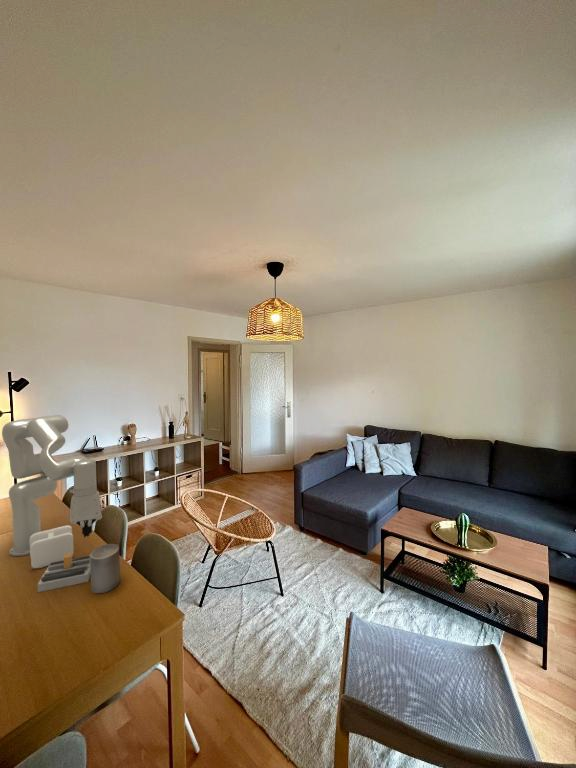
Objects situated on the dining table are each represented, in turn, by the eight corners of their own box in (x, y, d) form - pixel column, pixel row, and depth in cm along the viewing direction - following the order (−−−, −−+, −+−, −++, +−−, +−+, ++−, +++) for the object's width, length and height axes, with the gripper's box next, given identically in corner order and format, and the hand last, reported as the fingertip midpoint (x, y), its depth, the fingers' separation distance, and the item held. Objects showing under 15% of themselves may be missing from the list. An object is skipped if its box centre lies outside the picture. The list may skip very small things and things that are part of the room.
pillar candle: (116, 572, 124) (114, 537, 124) (123, 585, 117) (122, 547, 117) (88, 584, 118) (86, 547, 117) (94, 598, 111) (92, 558, 110)
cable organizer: (28, 572, 124) (27, 544, 124) (30, 559, 133) (29, 533, 132) (73, 558, 133) (72, 533, 133) (72, 547, 142) (72, 522, 141)
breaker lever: (64, 568, 122) (64, 554, 122) (73, 566, 123) (73, 552, 123) (62, 572, 120) (62, 558, 119) (71, 570, 121) (71, 556, 120)
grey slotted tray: (49, 572, 124) (49, 561, 124) (94, 563, 130) (94, 552, 130) (37, 592, 113) (37, 580, 113) (88, 581, 119) (87, 570, 119)
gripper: (60, 497, 116) (62, 544, 117) (105, 491, 121) (106, 536, 122) (66, 489, 123) (68, 534, 124) (108, 484, 128) (110, 527, 129)
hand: (87, 535), depth 123 cm, fingers closed
